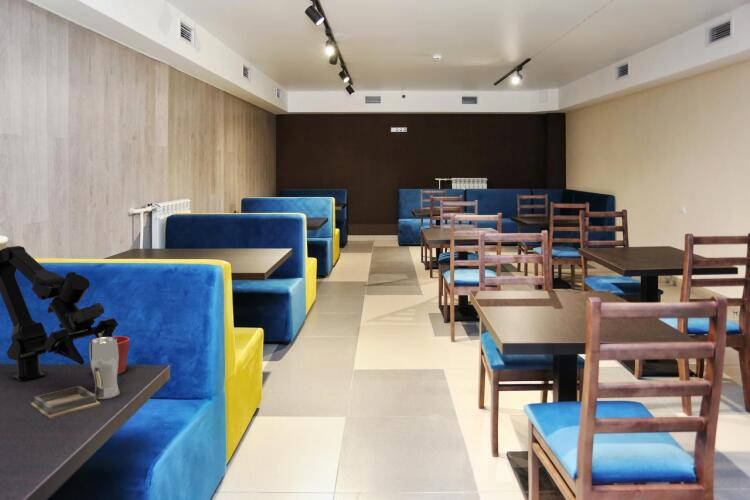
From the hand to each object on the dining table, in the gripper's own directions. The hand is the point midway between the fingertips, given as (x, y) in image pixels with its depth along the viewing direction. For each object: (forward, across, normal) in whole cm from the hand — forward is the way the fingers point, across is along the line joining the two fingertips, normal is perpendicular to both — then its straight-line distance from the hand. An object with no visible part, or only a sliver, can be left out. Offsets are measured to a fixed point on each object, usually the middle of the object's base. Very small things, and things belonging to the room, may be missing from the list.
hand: (98, 358), depth 158 cm
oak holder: (+6, -9, +8) cm, 13 cm away
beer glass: (+8, 0, +5) cm, 10 cm away
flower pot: (-3, +14, +17) cm, 22 cm away
